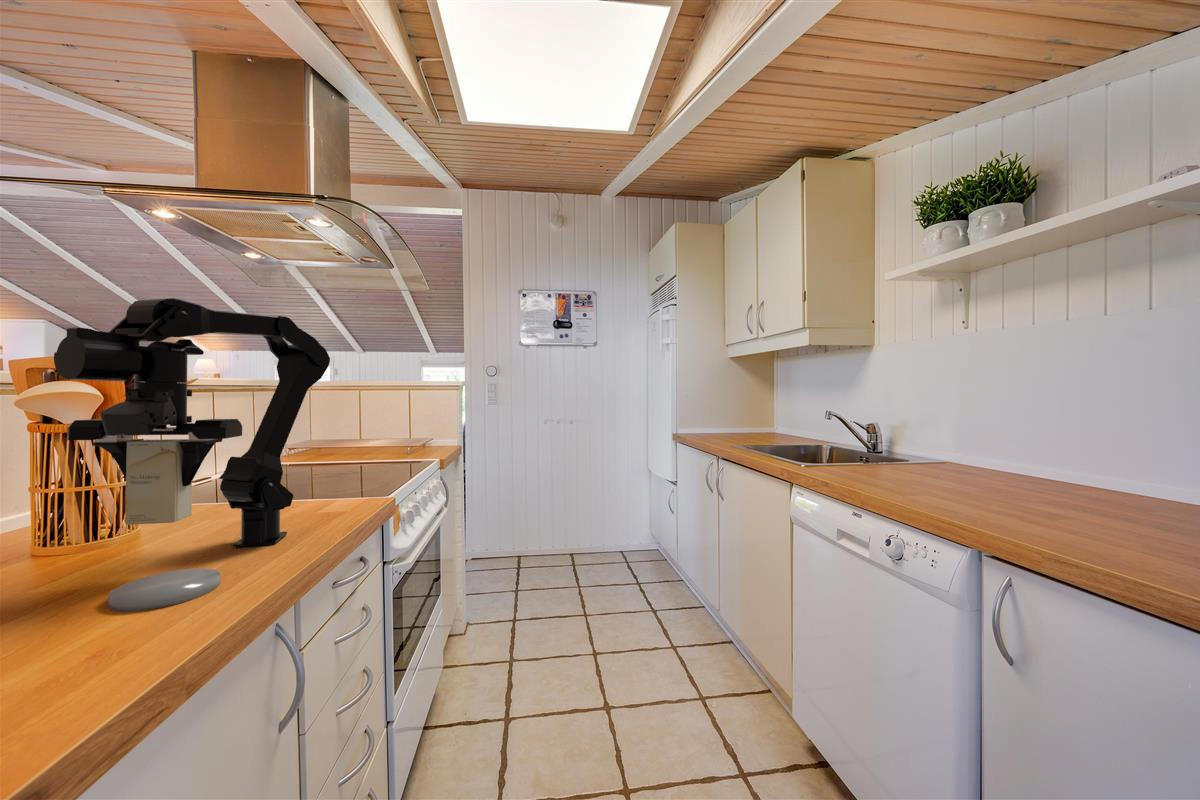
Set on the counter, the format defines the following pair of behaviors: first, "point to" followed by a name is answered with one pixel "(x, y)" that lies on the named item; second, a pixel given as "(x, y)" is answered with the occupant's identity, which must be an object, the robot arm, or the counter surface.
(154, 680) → the counter surface
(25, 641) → the counter surface
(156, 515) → the skincare box
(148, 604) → the coaster
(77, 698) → the counter surface
